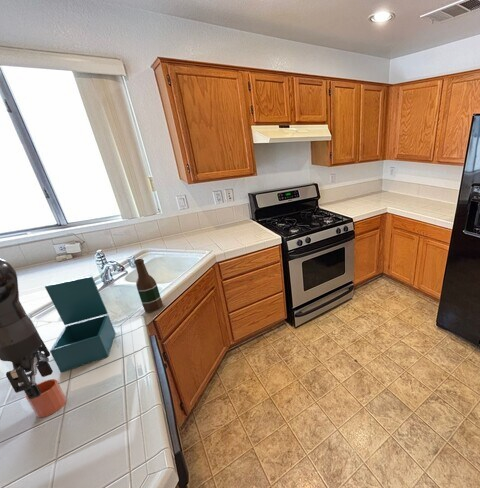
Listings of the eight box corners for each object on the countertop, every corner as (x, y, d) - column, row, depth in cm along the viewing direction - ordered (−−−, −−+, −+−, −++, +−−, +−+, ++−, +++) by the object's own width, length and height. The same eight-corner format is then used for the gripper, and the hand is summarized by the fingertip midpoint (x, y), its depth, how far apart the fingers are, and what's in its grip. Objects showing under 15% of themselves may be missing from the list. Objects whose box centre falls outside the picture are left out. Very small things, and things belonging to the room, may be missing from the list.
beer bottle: (167, 304, 123) (152, 257, 115) (150, 313, 116) (134, 264, 108) (156, 301, 126) (142, 255, 118) (140, 310, 119) (123, 262, 112)
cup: (32, 421, 69) (21, 401, 67) (41, 404, 74) (31, 385, 72) (62, 410, 72) (52, 390, 70) (69, 394, 77) (60, 375, 75)
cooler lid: (91, 276, 95) (94, 270, 99) (44, 286, 89) (49, 279, 93) (107, 313, 101) (109, 306, 105) (64, 325, 95) (68, 317, 100)
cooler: (108, 356, 91) (99, 336, 89) (60, 372, 86) (49, 351, 83) (115, 333, 104) (108, 314, 101) (74, 345, 99) (65, 325, 96)
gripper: (22, 346, 62) (51, 397, 67) (45, 317, 73) (68, 362, 79) (-25, 360, 58) (10, 412, 64) (7, 327, 70) (33, 374, 75)
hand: (42, 385), depth 71 cm, fingers open, 8 cm apart
